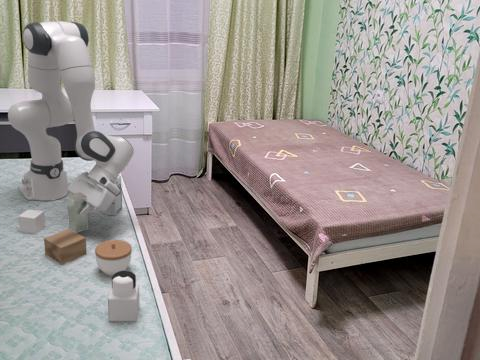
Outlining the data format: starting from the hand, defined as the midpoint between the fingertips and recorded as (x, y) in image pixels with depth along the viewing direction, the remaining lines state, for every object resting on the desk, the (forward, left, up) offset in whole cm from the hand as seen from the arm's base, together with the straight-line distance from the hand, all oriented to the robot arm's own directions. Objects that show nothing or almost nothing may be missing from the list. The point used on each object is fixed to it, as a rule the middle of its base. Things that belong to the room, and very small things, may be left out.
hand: (76, 212), depth 167 cm
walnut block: (+9, -9, -9) cm, 16 cm away
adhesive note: (-14, -9, -9) cm, 19 cm away
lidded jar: (+27, -3, -9) cm, 29 cm away
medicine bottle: (+47, -13, -9) cm, 50 cm away
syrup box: (-9, +20, -9) cm, 23 cm away
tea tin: (0, +1, -6) cm, 6 cm away
